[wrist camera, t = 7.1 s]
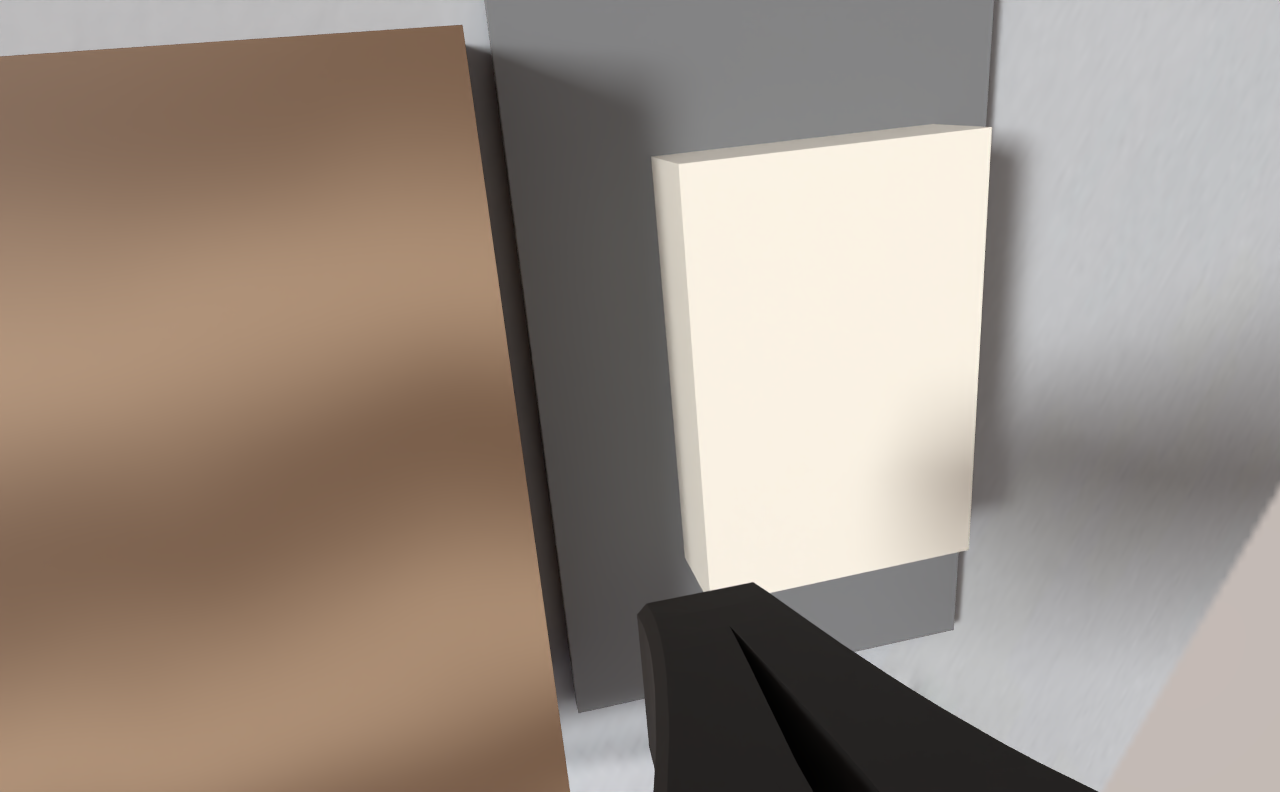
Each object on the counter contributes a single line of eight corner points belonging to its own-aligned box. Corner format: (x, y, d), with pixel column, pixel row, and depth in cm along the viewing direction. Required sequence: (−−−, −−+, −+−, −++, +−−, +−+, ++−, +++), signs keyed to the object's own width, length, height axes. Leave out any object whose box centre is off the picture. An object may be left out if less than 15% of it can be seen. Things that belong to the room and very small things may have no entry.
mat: (945, 621, 22) (953, 629, 22) (575, 702, 21) (578, 713, 20) (985, -51, 17) (997, -54, 16) (482, -21, 15) (482, -24, 15)
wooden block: (547, 673, 20) (571, 802, 16) (-10, 792, 18) (-126, 971, 14) (456, 42, 15) (462, 24, 11) (-328, 98, 13) (-630, 99, 9)
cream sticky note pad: (711, 605, 18) (684, 557, 19) (968, 549, 19) (921, 509, 20) (678, 164, 14) (650, 156, 16) (991, 126, 15) (932, 124, 17)
